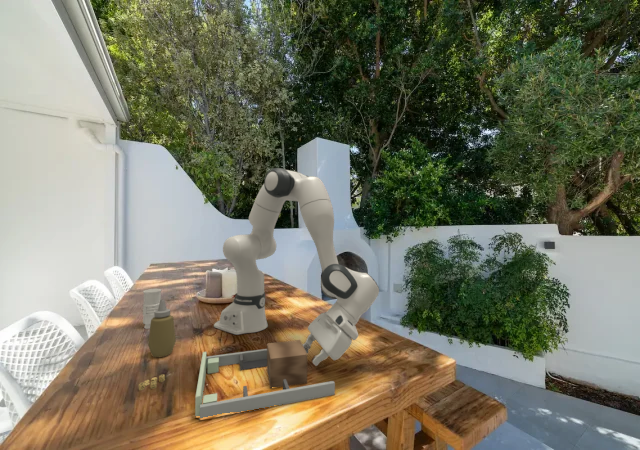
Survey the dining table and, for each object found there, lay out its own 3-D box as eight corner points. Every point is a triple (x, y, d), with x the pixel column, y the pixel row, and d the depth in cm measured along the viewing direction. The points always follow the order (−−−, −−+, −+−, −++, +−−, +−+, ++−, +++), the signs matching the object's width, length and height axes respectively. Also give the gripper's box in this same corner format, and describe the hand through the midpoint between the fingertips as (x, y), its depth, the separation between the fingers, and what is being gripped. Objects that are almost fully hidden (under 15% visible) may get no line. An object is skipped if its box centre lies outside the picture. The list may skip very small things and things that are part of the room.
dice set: (165, 381, 79) (165, 374, 79) (157, 392, 74) (157, 384, 74) (146, 381, 79) (146, 375, 79) (136, 392, 74) (136, 385, 74)
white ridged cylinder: (138, 327, 117) (138, 291, 117) (153, 322, 123) (154, 287, 123) (150, 330, 114) (150, 293, 114) (165, 324, 121) (165, 289, 121)
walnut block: (299, 365, 87) (299, 340, 87) (307, 383, 78) (307, 354, 78) (266, 370, 85) (267, 343, 85) (270, 388, 75) (270, 358, 75)
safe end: (218, 366, 86) (218, 350, 86) (216, 415, 64) (217, 393, 64) (202, 368, 85) (202, 352, 85) (195, 419, 63) (195, 396, 63)
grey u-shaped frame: (307, 352, 96) (307, 343, 96) (334, 394, 73) (334, 382, 73) (206, 366, 86) (206, 356, 86) (199, 421, 62) (199, 407, 62)
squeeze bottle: (181, 350, 97) (181, 297, 97) (160, 361, 89) (161, 304, 89) (163, 346, 99) (163, 295, 99) (141, 357, 92) (142, 301, 92)
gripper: (322, 303, 96) (293, 335, 93) (346, 324, 76) (311, 365, 73) (334, 315, 97) (306, 347, 94) (361, 338, 78) (327, 380, 75)
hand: (308, 355), depth 84 cm, fingers open, 8 cm apart
